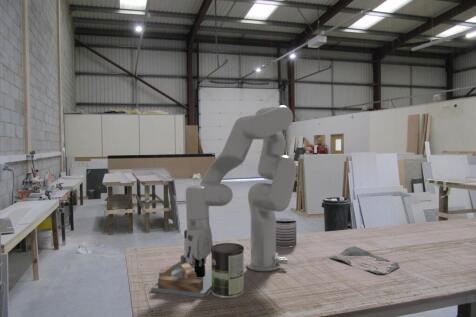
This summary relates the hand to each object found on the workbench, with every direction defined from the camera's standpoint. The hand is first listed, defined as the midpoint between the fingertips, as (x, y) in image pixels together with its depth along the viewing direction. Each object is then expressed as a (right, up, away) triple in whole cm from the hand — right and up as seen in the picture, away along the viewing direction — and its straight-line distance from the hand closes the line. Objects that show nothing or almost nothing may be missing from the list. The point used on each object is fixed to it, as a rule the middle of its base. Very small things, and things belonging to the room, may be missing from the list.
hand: (200, 276), depth 123 cm
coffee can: (+10, -2, -8) cm, 13 cm away
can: (+34, 0, +45) cm, 56 cm away
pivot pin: (-7, 0, +8) cm, 10 cm away
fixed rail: (-5, -1, -9) cm, 10 cm away
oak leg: (-4, 0, +1) cm, 4 cm away
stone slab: (+62, -1, +19) cm, 65 cm away
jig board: (-3, -2, 0) cm, 4 cm away
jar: (-4, -1, +23) cm, 23 cm away
